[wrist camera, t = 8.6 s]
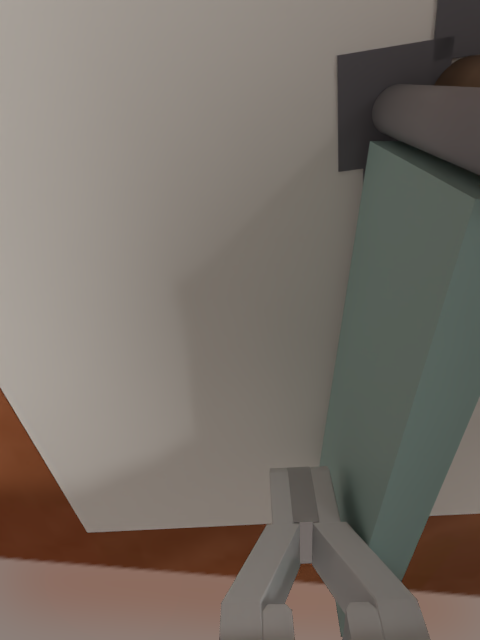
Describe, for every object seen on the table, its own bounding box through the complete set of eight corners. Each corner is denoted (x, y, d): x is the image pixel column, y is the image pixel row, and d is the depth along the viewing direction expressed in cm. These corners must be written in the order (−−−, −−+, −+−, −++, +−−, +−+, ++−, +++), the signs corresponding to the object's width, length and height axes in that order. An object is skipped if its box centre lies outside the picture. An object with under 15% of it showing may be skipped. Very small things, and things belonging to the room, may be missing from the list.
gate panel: (376, 84, 8) (531, 92, 4) (423, 84, 8) (641, 92, 4) (316, 475, 15) (344, 655, 11) (342, 476, 15) (381, 656, 11)
